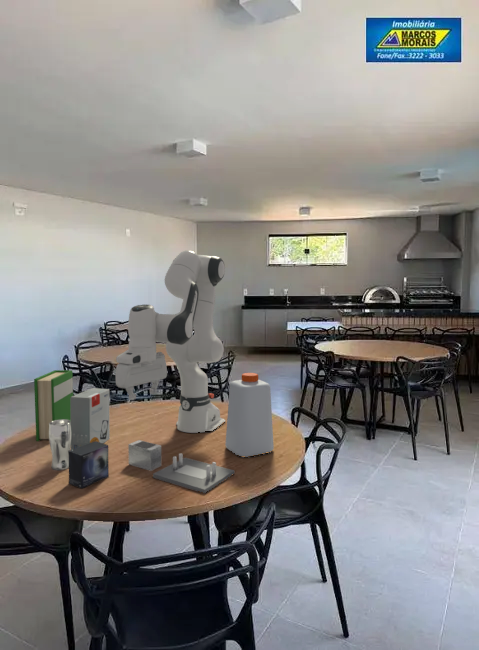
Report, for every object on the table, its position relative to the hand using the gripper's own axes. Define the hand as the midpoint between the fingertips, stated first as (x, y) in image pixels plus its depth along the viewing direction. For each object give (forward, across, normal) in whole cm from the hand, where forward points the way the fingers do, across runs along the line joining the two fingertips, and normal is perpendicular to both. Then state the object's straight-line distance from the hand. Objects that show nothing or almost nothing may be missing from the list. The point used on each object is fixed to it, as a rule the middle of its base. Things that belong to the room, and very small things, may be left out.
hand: (143, 396), depth 150 cm
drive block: (+23, 0, 0) cm, 23 cm away
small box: (+24, +18, -5) cm, 30 cm away
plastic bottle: (+23, -32, +22) cm, 45 cm away
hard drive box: (+24, -3, -30) cm, 38 cm away
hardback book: (+24, -4, -52) cm, 57 cm away
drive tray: (+23, -2, +19) cm, 30 cm away
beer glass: (+24, +16, -21) cm, 36 cm away
